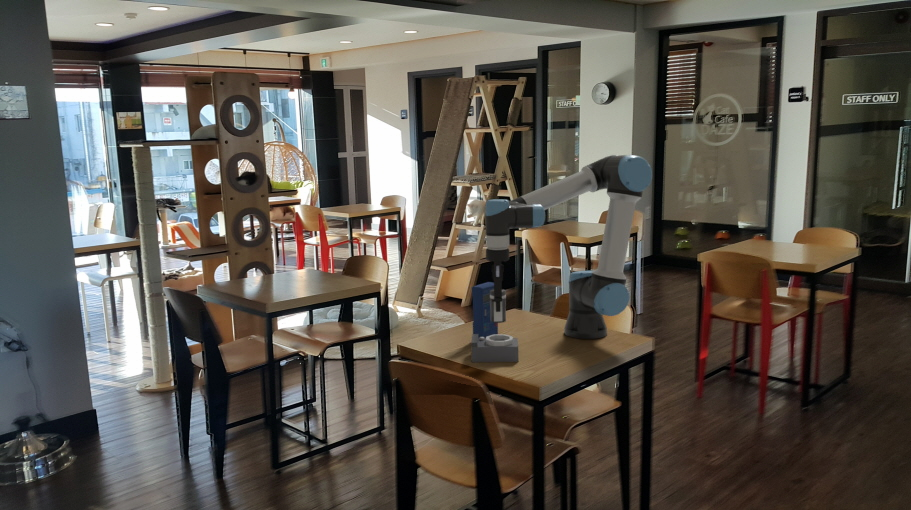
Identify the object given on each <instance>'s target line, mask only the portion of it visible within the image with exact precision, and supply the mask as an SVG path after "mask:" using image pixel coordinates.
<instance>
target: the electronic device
mask: <svg viewBox="0 0 911 510" xmlns="http://www.w3.org/2000/svg"><path fill="white" fill-rule="evenodd" d="M490 290H494V281H493V282H491V281H487V282H484V283H480V284H477V285H474V286H472V287H471V295H472V316H473V318H472V321H473V322H472V334H478V338H480V337H484V338H486V337H487V336H490V335H494V334H499V323H493V322H491V319H490Z"/></svg>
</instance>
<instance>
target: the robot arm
mask: <svg viewBox="0 0 911 510" xmlns="http://www.w3.org/2000/svg"><path fill="white" fill-rule="evenodd" d="M652 179H653V171H652V167H651V165H650V164H649V161H648V160H646V158H644V157H642V156H639V155H634V154H633V155H632V154H623V155H622V154H611V155H607V156H605V157H603V158H601V159H597V160H596V161H594V162H592V163H589V164H587V165H585V166H583V167H581V169H580V171H578V172H575V173H573V174H571V175H569V176H566V177H564V178H562V179H559V180H557V181H554V182H552V183H550V184H547V185H545V186H542V187H541V188H538V189H535V190H533V191H530V192H528V193H526V194H523V195H521V196H519V197H516V198H514V199H511V200H509V199H505V198H504V199H502V198H501V199H499V198H497V199H488V200H487V201H486V202H485V206H484V210H485V211H484V217H485V220H484V222H485V223H484V224H485V237H484V238H483V241H484V242H485V247H486V249H485V260H486V261H488V262H493V264H491V272H492V273H491V274H492V276H491V277H492V280H493V283H494V300H492V302H494V321H502V290H503V287H502V285H503V284H502V283H503V280H504V271H505V268H504V266H505V265H504V264H502V262H507V261H509V260H510V249H509V247H510V229H511V230H512V229H528V228H529V229H530V228H532V229H534V228H541V227H542V226H544V224H545V221H546V212H545V211H546V210H548V209H551V208H553V207H555V206H558V205H560V204H562V203H565V202H567V201H569V200H572V199H574V198H576V197H579V196H582V195H584V194H585V193H589V192H590V193H595V192H598V191H601V190H606V195H607V196H608V197H609V204H608V209H607V215H606V219H605V220H606V221H605V225H604V231H603V235H602V236H603V237H602V242H601V248H600V253H599V258H598V264H597V268H596V269H593V270H591V269H590V270H580V271H573V272H571V273H569V276H568V277H569V278H568V301H569V302H568V305H569V306H568V309H569V312H568V315H567V318H566V321H565V324H564V331H563V332H564V334H565V336H567V337H569V338H573V339H579V340H580V339H582V340H594V339H600V338H603V337H606V336H608V327H607V324H606V321H605V318H604V316H607V317H614V316H615V317H616V316H618V315H619V314H621V313H622V312H624V311H625V310H626V308H627V307H628V306H629V303H630V291H629V290H628V288H627V287H626V284H627V277H626V275H625V274H624V268H625V262H626V259H627V253H628V249H629V241H630V237H631V232H632V231H631V230H632V225H633V222H634V221H633V220H634V215H635V209H636V204H637V202H639V201H640V200H642V198H643V192H644V191H645V190H646V189H647V188H648V187H649V186H650V185H651V183H652Z"/></svg>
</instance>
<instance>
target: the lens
mask: <svg viewBox="0 0 911 510" xmlns="http://www.w3.org/2000/svg"><path fill="white" fill-rule="evenodd" d="M506 299H507V294H506V290H505V289H502V321H494V302H492V300H494V290H490V319H491V322H493V323H498V324H502V323H506V322H507V300H506Z"/></svg>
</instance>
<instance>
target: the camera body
mask: <svg viewBox="0 0 911 510" xmlns="http://www.w3.org/2000/svg"><path fill="white" fill-rule="evenodd" d="M518 339H519V338H518V337H513V336H512V335H509V334H504V333H503V334H501V333H500V334H499V333H498V334H494V335H490V336H487V337H486V338H484V337H480V338H478V334H473V333H472V335H471V342H470V346H471V348H470V351H471V353H470V354H471V363H515V362H517V363H518V362H519V340H518Z"/></svg>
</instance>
